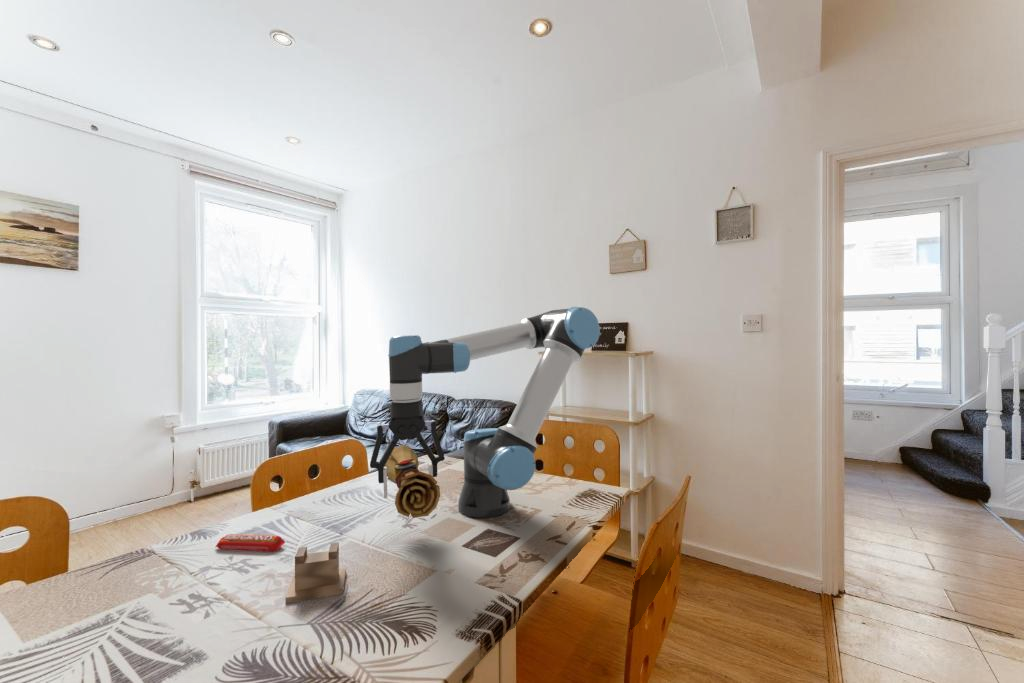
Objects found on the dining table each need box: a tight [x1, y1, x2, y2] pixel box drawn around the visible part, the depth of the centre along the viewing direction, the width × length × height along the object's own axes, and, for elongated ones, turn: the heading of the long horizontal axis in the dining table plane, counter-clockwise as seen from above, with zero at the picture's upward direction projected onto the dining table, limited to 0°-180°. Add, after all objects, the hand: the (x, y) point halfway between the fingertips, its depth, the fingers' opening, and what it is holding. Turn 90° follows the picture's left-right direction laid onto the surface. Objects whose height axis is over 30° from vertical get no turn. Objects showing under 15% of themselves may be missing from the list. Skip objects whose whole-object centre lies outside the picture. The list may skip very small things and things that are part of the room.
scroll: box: [384, 445, 441, 519], centre depth 102 cm, size 27×10×10 cm, turn 23°
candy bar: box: [215, 533, 286, 553], centre depth 102 cm, size 16×4×3 cm, turn 85°
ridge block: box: [285, 542, 347, 604], centre depth 86 cm, size 10×8×8 cm
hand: (408, 493), depth 102 cm, fingers closed on scroll, 10 cm apart
